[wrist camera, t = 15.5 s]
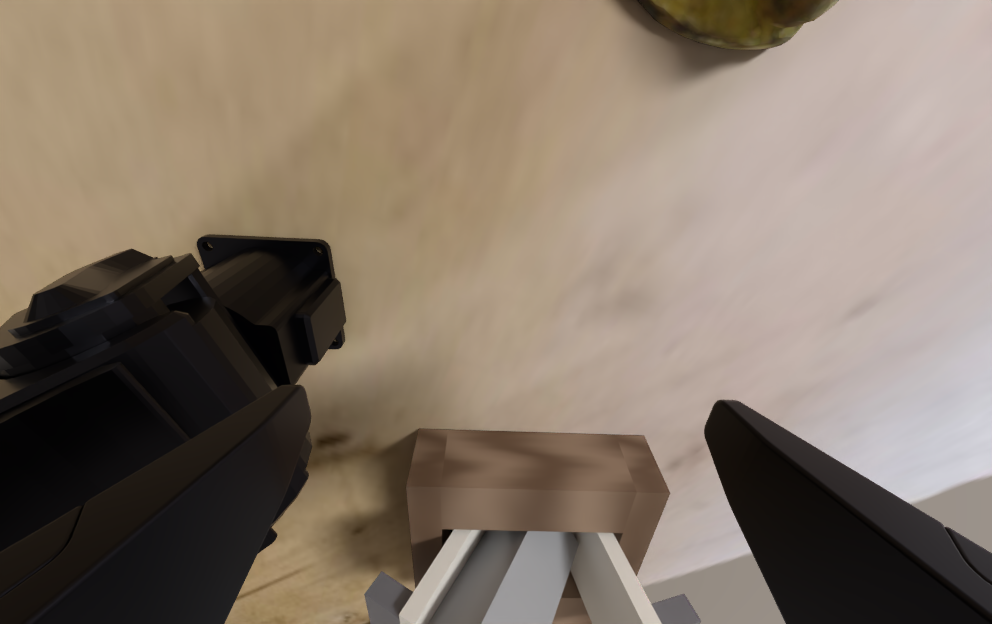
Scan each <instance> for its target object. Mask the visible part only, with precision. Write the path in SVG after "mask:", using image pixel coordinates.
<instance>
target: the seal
mask: <svg viewBox="0 0 992 624" xmlns="http://www.w3.org/2000/svg"><path fill="white" fill-rule="evenodd" d="M638 1H639V2H640V3H641V4H642V5H643V7H644V8H645V9H646V10H647V11H648V12H649V13H650V14H651V16H652V17H653V18H654V19H655V20H656V21H658V22H659V23H661V24H662V25H664V26H665V27H667V28H668V29H670V30H672V31H674V32H676V33H677V34H679V35H682V36H684V37H686V38H689V39H692V40H695V41H697V42H699V43H705V44H708V45H711V46H715V47H720V48H727V49H742V50H757V49H768V48H772V47H776V46H779V45H782V44H783V43H785V42H787V41H788V40H790V39H791V38H792V37H793V36H794V35H795V34H796V33H797V31H798V30H799V29H800V28H801V27H802V25H803V24H804V23H806V22H810V21H814V20H815V19H817V18H818V17H819V16H821V15H822V14H824V13H825V12H826V11H827V10H829V9H830V8H831V7H832V6H834V5H835V4H836V3H837V2H838V1H839V0H638Z"/></svg>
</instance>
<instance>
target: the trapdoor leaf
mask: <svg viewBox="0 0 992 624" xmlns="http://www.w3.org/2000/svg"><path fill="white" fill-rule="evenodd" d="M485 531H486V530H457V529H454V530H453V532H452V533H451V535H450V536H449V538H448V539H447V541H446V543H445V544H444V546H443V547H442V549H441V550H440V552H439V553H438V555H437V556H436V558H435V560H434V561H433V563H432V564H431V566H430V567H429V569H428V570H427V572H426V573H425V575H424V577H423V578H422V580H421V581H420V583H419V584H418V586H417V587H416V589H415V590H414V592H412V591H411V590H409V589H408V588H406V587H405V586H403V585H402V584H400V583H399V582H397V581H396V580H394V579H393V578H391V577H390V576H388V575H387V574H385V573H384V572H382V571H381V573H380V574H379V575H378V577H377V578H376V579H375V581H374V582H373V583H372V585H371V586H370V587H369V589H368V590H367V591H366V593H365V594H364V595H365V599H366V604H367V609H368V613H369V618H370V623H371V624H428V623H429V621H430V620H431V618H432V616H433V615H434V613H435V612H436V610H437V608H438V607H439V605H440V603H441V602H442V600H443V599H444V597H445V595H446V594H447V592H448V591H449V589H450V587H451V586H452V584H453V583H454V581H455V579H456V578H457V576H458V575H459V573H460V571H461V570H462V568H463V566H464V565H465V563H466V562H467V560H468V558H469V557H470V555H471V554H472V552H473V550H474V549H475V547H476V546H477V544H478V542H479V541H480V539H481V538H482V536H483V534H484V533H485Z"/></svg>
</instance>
